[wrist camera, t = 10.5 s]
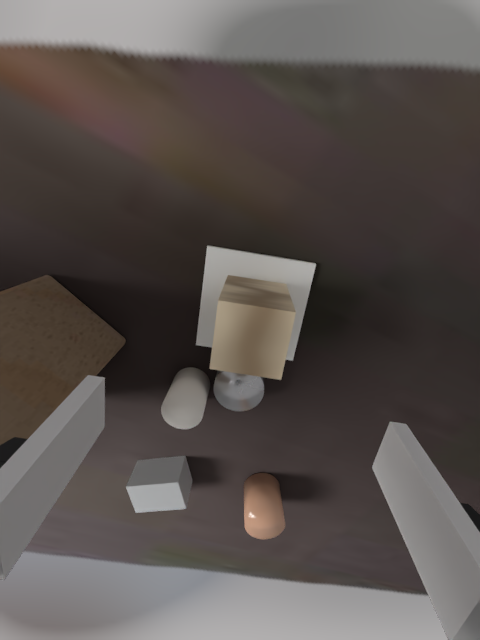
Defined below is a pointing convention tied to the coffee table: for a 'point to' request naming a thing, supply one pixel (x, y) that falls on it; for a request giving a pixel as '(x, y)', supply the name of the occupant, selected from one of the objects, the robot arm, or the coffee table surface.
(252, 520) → the peach capsule
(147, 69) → the coffee table surface
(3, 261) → the coffee table surface
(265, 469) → the coffee table surface
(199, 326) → the coaster
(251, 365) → the maple block
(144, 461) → the grey box
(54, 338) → the wooden block
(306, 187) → the coffee table surface
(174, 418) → the grey rounded cylinder
